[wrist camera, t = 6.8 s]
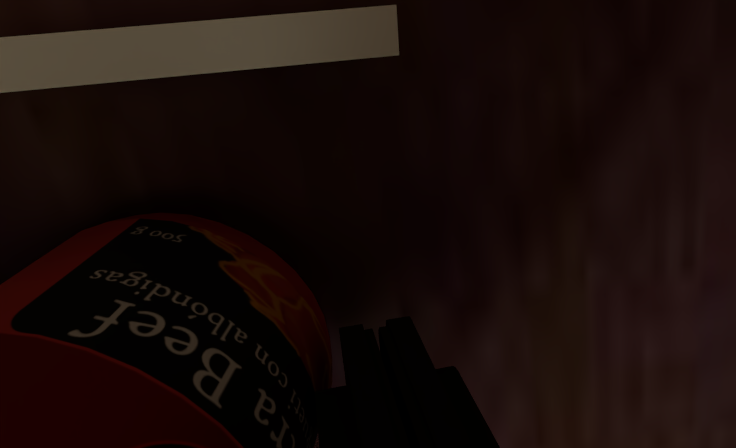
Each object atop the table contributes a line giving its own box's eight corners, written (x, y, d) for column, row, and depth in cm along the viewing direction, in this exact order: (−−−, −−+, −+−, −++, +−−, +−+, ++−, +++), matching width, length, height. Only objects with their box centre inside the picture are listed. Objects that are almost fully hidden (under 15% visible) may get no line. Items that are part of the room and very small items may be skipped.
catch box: (-210, 65, 11) (-512, 79, 7) (360, 17, 12) (396, 4, 8) (15, 530, 16) (-78, 696, 12) (396, 458, 17) (429, 585, 13)
